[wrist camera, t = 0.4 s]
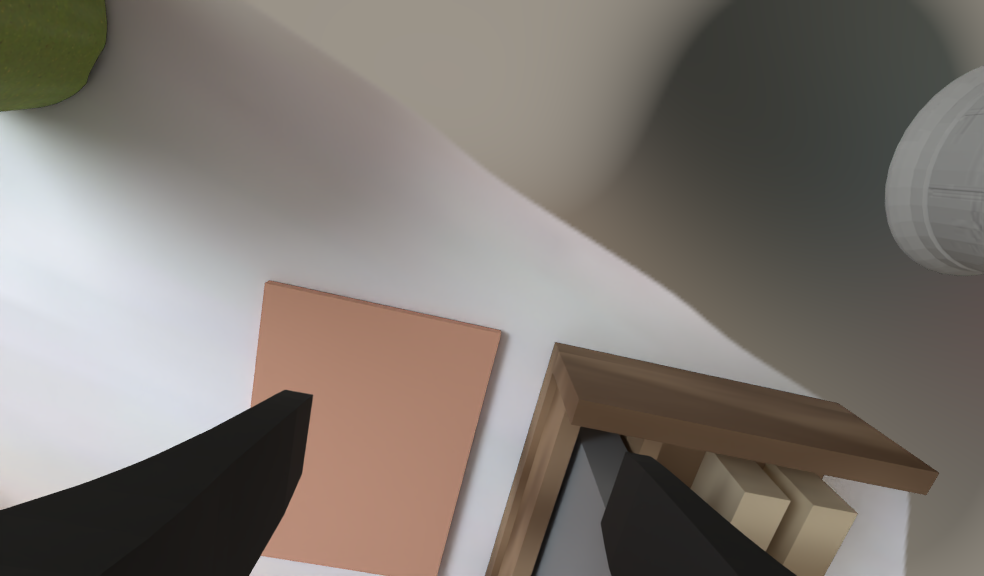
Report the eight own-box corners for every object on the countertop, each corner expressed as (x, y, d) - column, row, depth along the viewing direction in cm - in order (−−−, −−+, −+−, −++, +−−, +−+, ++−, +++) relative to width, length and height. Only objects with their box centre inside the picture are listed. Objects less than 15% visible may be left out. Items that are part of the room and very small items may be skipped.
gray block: (565, 566, 23) (611, 774, 15) (526, 559, 23) (552, 767, 15) (615, 427, 21) (697, 587, 13) (572, 419, 21) (630, 576, 13)
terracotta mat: (435, 576, 24) (434, 583, 24) (237, 544, 23) (233, 551, 23) (500, 330, 20) (501, 333, 20) (269, 280, 19) (264, 282, 19)
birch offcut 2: (742, 596, 24) (779, 656, 21) (706, 589, 24) (738, 650, 21) (807, 466, 22) (858, 513, 19) (768, 458, 22) (813, 505, 19)
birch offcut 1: (688, 586, 24) (717, 647, 21) (651, 580, 23) (675, 640, 20) (748, 454, 21) (790, 500, 19) (708, 446, 21) (744, 491, 18)
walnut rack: (728, 623, 26) (786, 731, 21) (482, 583, 24) (484, 690, 20) (838, 403, 22) (939, 472, 17) (555, 342, 21) (579, 399, 16)
